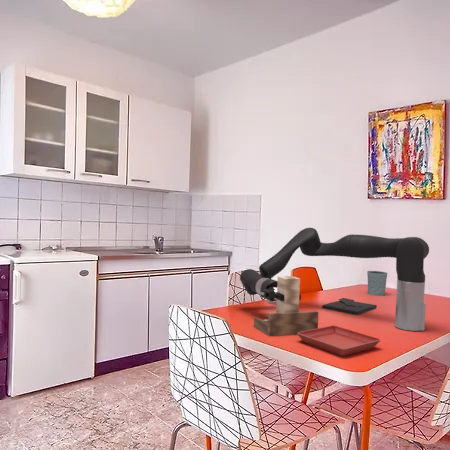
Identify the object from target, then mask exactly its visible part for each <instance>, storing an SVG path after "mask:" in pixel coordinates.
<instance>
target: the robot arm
mask: <svg viewBox="0 0 450 450" xmlns="http://www.w3.org/2000/svg"><path fill="white" fill-rule="evenodd" d="M299 248H300V249H299ZM298 249H299V250H300V251H301V254H302V255H304V256H307V257H345V258H346V257H347V258H357V259H375V258H376V259H379V258H393V259H394V258H395V259H396V260H395V261H396V262H395V271H396V275H397V277H396V278H397V281H396V294H395V295H396V298H395V300H396V301H395V315H394V316H395V318H394V327H396V328H398V329H401V330H404V331H411V332H412V331H413V332H420V331H422V332H424V331H425V327H426V326H425V323H426V305H427V304H426V303H425V288H426V287H425V286H426V275H425V271H424V261H425V259H426V258H427V257H428V255H429V253H430V246H429V244H428V243H427V242H426V241H425V240H424V239H422V238H421V237H417V236H407V237H403V238H402V237H400V238H399V237H398V238H394V237H392V238H391V237H381V236H377V235H367V234H347V235H345V236H342V237H341V238H339V239H338V240H336V241H333V242H321V239H320V235H319V232H318V231H317V229H315V228H314V227H305V228H303V229H302V230H300V231H298V232H297V233H296V234H295V235H294V236H293V237H292V238H291V239H290V240H289V241H288V242H286V244H285V245H284V246H283V247H282V248H281V249H280V250H278V251H277V253H275V254H274V255H272V256H271V257H270V258H269V259H267V260H265V261H263V263H261V264H260V265H259V267H258V269H259V270H258V271H259V272H258V271H256V270H255V269H252V268H248V269H245V270H243V271H241V273H240V274H239V281H240V282H241V284H242V286H243V287H244V289H245V291H246V293H247V294H248V295H250V296H254V295H258V296H260V297H261V298H264V299H265V300H267V301H268V300H270V301H274V302H277V300H280V301H284V297H285V296H284V295H283V294H281V293H278V292H277V282H278V280H275V279H272V278H274V277H275V276H276V275H278V274H279V273H281V272H282V271H283V270H284V269H285V268H286V267H287V265H288V264H289V261H290V260H291V258H292V256H293V255H294V254H295V252H296V251H297V250H298ZM300 292H301V291H300ZM300 292H299V302H300V301H301V300H302V295H301V294H300Z"/></svg>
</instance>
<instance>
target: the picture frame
mask: <svg viewBox="0 0 450 450" xmlns="http://www.w3.org/2000/svg"><path fill="white" fill-rule="evenodd" d="M377 307H378V305H376V304H371V303H366V302H359V301H355V300H354V299H351V298H346V297H343V298H342V297H341V298H339V299H338V300H336V301H333V302H329V303H326V304H325V303H324V304H322V305H321V309H324V310H329V311H334V312H338V313H344V314H349V315H354V316H359V315H361V314H364V313H367V312H370V311H373V310H376V309H377Z"/></svg>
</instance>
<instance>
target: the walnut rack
mask: <svg viewBox="0 0 450 450" xmlns="http://www.w3.org/2000/svg"><path fill="white" fill-rule="evenodd" d="M267 316H268V317H267V319H268V323H266V322H264V321H263V320H264V319H261V318H259V317H257V316H256V317H253V327H254V328H256V329H257V330H259V331H260V332H262V333H263V334H265V335H267V336H268V337H270V336H271V337H276V336H277V337H278V336H289V335H291V334H294V335H298V334H297V333H298V332H302V331H307V330H312V329H317V328H318V327H319V311H317V310H316V311H314V310H313V311H299V312H290V313H276V312H270V313H268V315H267Z"/></svg>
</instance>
